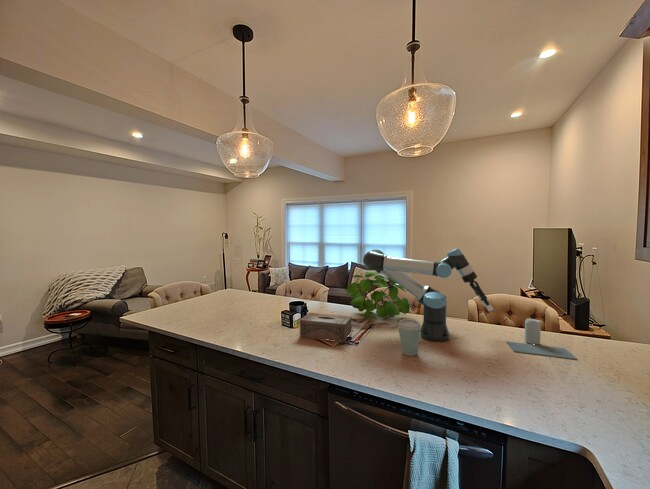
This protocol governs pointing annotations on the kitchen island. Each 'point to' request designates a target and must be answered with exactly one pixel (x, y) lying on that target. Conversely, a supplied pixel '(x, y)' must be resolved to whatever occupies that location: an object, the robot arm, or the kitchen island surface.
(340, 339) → the tissue box cover
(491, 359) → the kitchen island surface
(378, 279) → the indoor plant
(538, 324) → the beverage can
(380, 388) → the kitchen island surface
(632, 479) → the kitchen island surface
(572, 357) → the blue-grey rectangular board
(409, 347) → the disposable coffee cup
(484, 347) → the kitchen island surface
